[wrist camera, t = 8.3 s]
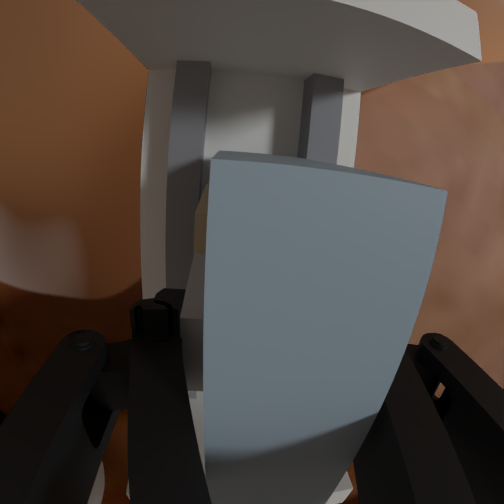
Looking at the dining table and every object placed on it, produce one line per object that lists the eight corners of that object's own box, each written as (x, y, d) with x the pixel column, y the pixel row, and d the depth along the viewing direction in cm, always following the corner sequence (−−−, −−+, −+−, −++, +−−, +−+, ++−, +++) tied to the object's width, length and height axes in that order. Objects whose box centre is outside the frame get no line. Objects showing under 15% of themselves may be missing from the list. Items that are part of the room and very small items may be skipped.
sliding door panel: (266, 342, 19) (310, 524, 8) (204, 341, 18) (199, 530, 7) (289, 156, 15) (447, 191, 4) (213, 149, 15) (185, 158, 4)
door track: (302, 381, 25) (342, 502, 13) (156, 378, 23) (133, 506, 12) (349, 68, 17) (476, 12, 6) (160, 48, 16) (90, -55, 4)
